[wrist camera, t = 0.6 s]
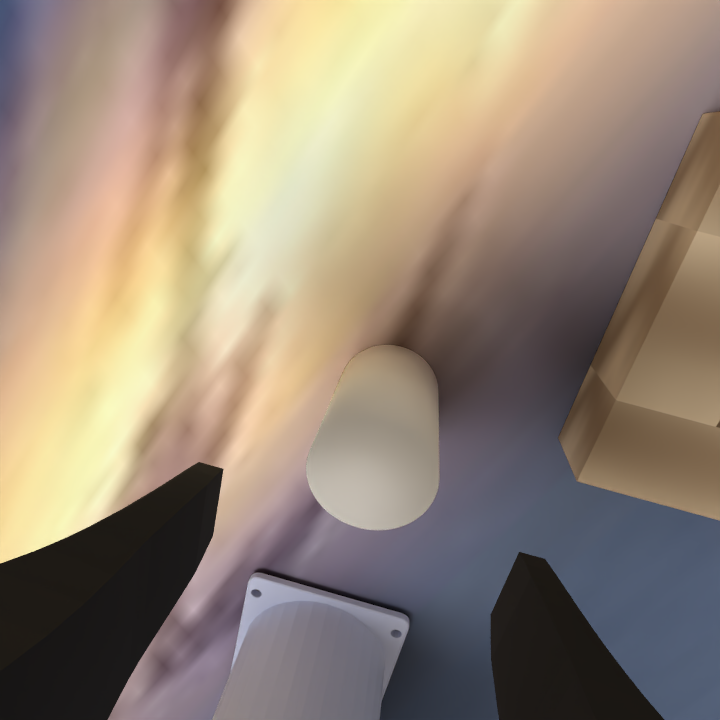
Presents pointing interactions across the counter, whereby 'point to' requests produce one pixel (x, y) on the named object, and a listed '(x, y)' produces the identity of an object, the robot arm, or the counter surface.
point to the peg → (379, 441)
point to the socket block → (662, 356)
